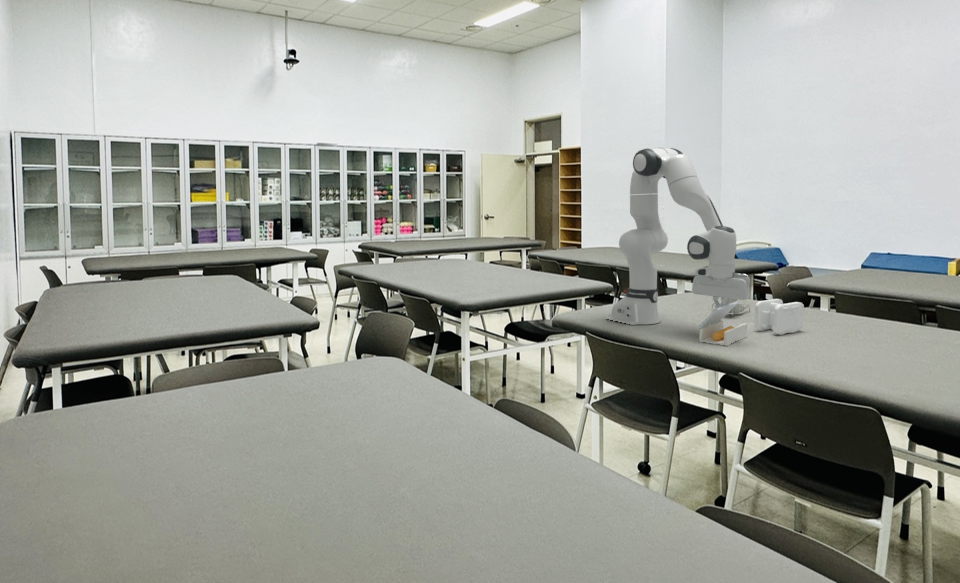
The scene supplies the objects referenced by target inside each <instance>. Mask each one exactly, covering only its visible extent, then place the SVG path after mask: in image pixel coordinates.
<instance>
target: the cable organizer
mask: <svg viewBox="0 0 960 583" xmlns="http://www.w3.org/2000/svg"><path fill="white" fill-rule="evenodd" d="M804 309H805V305H804V304H803V302H799V301H794V302H788V303H784V302H783V300H782V299H781V298H772V299H766V300H760V301H757V302H756V303H755V307H754V325H753V326H754V329H755V330H757V331H759V332H764V330H765V331H766V330H769V329H770V330H772V332H773V333H774V334H777V335H778V336H782V335H786V334H790V333H791V334H794V333H796V332H800V331H801V330H802V328H803V325H804V324H803V323H804Z"/></svg>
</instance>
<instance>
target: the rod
mask: <svg viewBox="0 0 960 583" xmlns="http://www.w3.org/2000/svg"><path fill="white" fill-rule="evenodd" d="M732 328H734V326H732V325H729V326H727V327H725V328H724V327H723V329H722V330H720V331H717V332H715V333H713V334H712V339H713V340H715V341H718V340H720V339H722V338H724V332H725V331H727V330H730V329H732Z"/></svg>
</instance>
